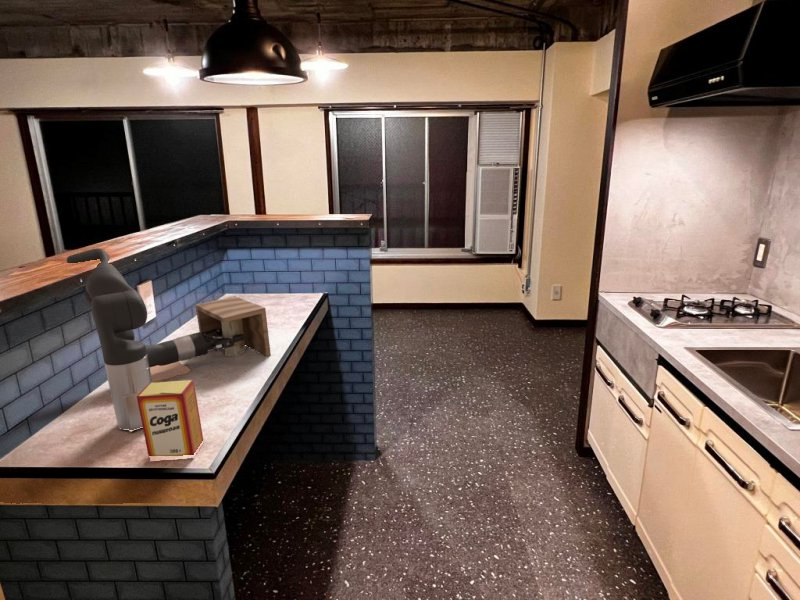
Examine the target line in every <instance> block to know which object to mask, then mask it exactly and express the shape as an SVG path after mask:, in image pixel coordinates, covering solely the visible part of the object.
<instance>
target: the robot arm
mask: <svg viewBox="0 0 800 600" xmlns="http://www.w3.org/2000/svg"><path fill="white" fill-rule="evenodd" d="M110 258H111V256H110V255H109V254H108V252H107V251H105V250H104V249H102V248H99V247H97V248H92V249H88V250H84V251H81V252H77V253H74V254H71V255H69V256H67V258H66V264H67V263H78V262H85V261H90V260H97V259H100V261H101V263H99V264H98V265H97V267H96V269H94V271H92V273H91V274H90V275H89V276H88V278H87V281H86V290H85V291H84V294H85V298H86V300H85V301H86V303H87V304H88V307H89V308H90V309H91V314H92V317H93V322H94V325H95V328H96V331H97V336H98V339H99V343H100V348H101V352H102V359H103V364H104V368H105V372H106V377H107V382H108V386H109V393H110V396H111V401H112V405H113V410H114V414H115V418H116V419H115V420H116V424H117V427H119V428H121V429H129V430H134V429H137V428H140V427H143V426H142V421H141V416H140V411H139V406H138V401H137V395H138V394H139V393H140V392H141V391H142V390H143V389H144V388H145V387H146V386H147V385H148V384H149V383H153V382H152V377H151V372H150V367H154V366H157V365H159V366H164V365H168V364H172V363H175V362H184V361H188V360H191V359H197V358H198V357H201V356H206V355H208V353H209V351H208V349H209V348H215V349H214V350H215V351H220V350H225V348H229V347H233V346H234V343H236V342H239V341H243V340H244V335H243V334H238V335H234V336H230V337H226V336H225V335H223V332H222V330H221V331H220V330H217V331H216V329H214V330H210V331H206V332H203V333H202V332H199V331H197V332H195V333H190V334H186V335H184V336H179V337H176V338H173V339H170V340H165V341H163V342H159V343H156V344H148V345H145V343H144V342H142V341H140V340H135V337H136V336H135V332H134V330H136V329H140V328H141V327H143V326H144V325H145V324H146V323H147V321H148V309H147V306H146V303H145V301H144V299H143V298H142V296H141V295H140V294H139V292H137V290H135V289H134V288H133V287H132V286H130V285H129V283H128V282H127V281H126V279H125V277H124V276H123V275H122V274H121V272H120V271H118V269H117V268H116V267H114V266H115V265H114V266H113V265H112V264H109V263H108V261H109V259H110ZM85 298H84V299H85ZM222 339H223V340H222ZM229 341H230V342H229ZM119 428H118V429H119Z"/></svg>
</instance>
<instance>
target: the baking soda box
mask: <svg viewBox="0 0 800 600" xmlns="http://www.w3.org/2000/svg"><path fill="white" fill-rule="evenodd" d="M137 401H138V406H139V411H140V416H141V421H142V426H143V429H142V430H143V436H144V440H145V445H146V450H147V455H148V457H149V456H183V455H194V453H195V452H196V450H197V449H198V447H199V446H200V444H201V443H202V441H203V440H204V435H203V427H202V424H201V418H200V417H201V416H200V410H199V404H198V400H197V392H196V387H195V381H194V380H193V379H192V380H191V379H190V380H171V381H158V382H155V383H149V384H148V385H147V386H146V387H145V388H144V389H143V390H142V391H141V392H140V393H139V394H138V395H137Z"/></svg>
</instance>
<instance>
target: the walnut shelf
mask: <svg viewBox="0 0 800 600" xmlns="http://www.w3.org/2000/svg"><path fill="white" fill-rule="evenodd" d="M195 310H196V311H195V312H196V317H197V325H198V332H202V333H203V332H206V331H210V330H214V329H216V331H217V330H220V331H221V330H222V324H221V322H224V323H225V322H229V321H233V320H237V319H241V318H242V324H243V333H244V341H245V345H246V346H245V347H247V346H248V347H247V348H249V347H250V348H249V349H251V350H253V351H254V352H257V353H258V352H259V354H260V355H263V356H265V357H266V358H268V357H270V356H271V357H272V353H271V345H270V338H269V328H268V320H267V319H268V318H267V311H266V307H264V306H262V305H259V304H256V303H253V302H251V301H248V300H246V299H244V298H241V297H239V296H229V297H225V298H220V299H217V300H215V299H214V300H212V301H207V302H203V303H197V304H195ZM222 340H223V339H222ZM212 349H213V350H216V349H215V348H209V349H208V350H209V351H212Z"/></svg>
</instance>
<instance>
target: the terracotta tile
mask: <svg viewBox="0 0 800 600" xmlns="http://www.w3.org/2000/svg"><path fill="white" fill-rule="evenodd" d="M190 371H191V370H190V368H188V367H187V366H186V365H184V364H183V363H181V361H179V362H175V363H172V364H168V365H164V366H159V365H157V366H154V367H150V372H151V377H152V382H153V383H155V382H162V381H165V380H167V379H172V378H174V376H175V377H177V375H178V376H182V375H184V374H188V373H190Z"/></svg>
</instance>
